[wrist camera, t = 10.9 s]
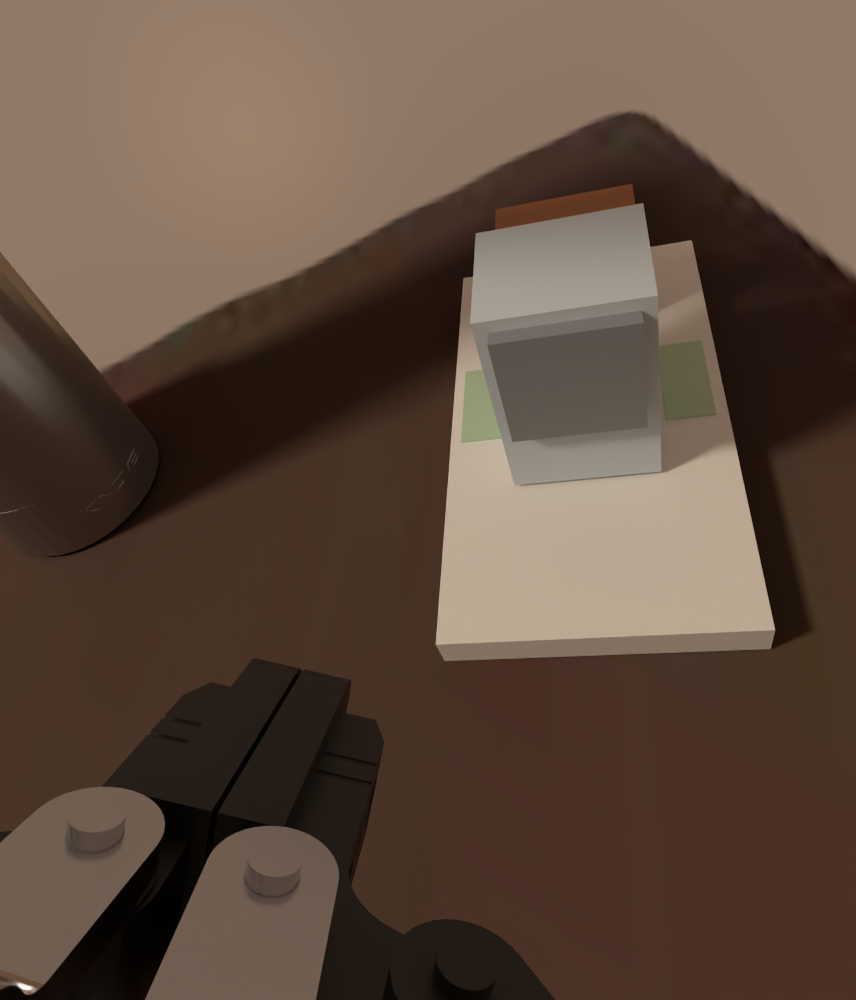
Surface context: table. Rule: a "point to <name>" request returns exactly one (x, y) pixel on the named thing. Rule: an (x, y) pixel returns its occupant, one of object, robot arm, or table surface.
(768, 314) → the table surface
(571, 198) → the block
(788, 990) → the table surface
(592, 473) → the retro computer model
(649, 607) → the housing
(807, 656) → the table surface
